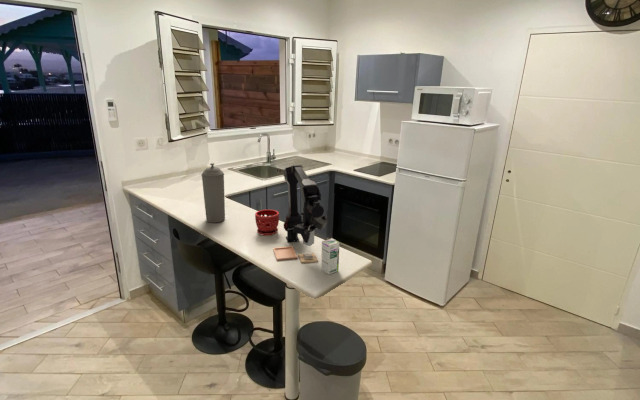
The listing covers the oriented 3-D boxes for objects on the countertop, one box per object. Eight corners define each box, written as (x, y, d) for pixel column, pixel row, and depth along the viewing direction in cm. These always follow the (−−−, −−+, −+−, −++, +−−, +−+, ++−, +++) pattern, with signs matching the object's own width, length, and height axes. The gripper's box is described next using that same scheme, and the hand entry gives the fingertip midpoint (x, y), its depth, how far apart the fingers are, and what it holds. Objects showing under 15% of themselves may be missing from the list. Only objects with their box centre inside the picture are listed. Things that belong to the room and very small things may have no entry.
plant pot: (283, 231, 200) (283, 211, 196) (269, 239, 189) (268, 218, 185) (265, 226, 206) (265, 207, 202) (250, 233, 195) (250, 213, 191)
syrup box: (328, 274, 156) (329, 245, 151) (320, 269, 160) (321, 240, 156) (338, 271, 159) (340, 242, 154) (330, 265, 163) (331, 237, 159)
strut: (302, 244, 166) (302, 230, 164) (307, 241, 169) (307, 227, 167) (309, 246, 164) (310, 232, 162) (314, 243, 168) (314, 229, 165)
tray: (273, 249, 177) (273, 247, 177) (292, 247, 180) (292, 246, 180) (276, 260, 166) (276, 258, 166) (297, 258, 169) (297, 256, 169)
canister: (216, 214, 221) (212, 160, 210) (231, 219, 215) (228, 163, 204) (200, 220, 211) (195, 163, 200) (215, 225, 205) (211, 166, 194)
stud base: (298, 255, 172) (298, 251, 171) (313, 254, 174) (313, 249, 173) (301, 263, 165) (301, 258, 164) (318, 261, 167) (318, 257, 166)
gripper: (314, 220, 150) (313, 252, 155) (333, 208, 166) (332, 238, 171) (292, 214, 155) (292, 246, 160) (313, 203, 171) (312, 233, 176)
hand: (308, 241), depth 166 cm, fingers closed on strut, 4 cm apart
